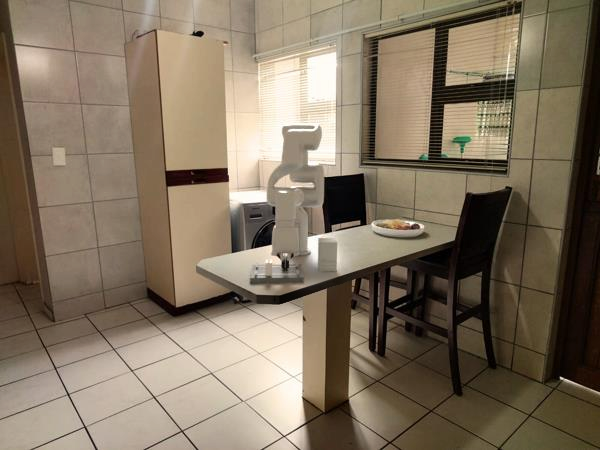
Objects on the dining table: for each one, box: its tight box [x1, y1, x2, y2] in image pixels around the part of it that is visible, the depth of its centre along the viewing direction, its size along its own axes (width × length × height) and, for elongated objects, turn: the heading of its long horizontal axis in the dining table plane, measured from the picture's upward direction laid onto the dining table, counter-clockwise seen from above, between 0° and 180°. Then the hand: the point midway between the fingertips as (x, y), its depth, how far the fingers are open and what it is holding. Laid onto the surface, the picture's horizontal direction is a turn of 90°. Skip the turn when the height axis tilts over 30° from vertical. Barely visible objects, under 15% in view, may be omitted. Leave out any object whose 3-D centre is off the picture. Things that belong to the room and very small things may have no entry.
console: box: [249, 262, 304, 284], centre depth 159 cm, size 16×20×3 cm
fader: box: [265, 258, 273, 276], centre depth 153 cm, size 5×2×5 cm, turn 4°
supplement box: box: [317, 237, 338, 272], centre depth 167 cm, size 7×7×13 cm
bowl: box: [371, 218, 425, 238], centre depth 235 cm, size 30×30×8 cm
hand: (285, 269), depth 154 cm, fingers closed
